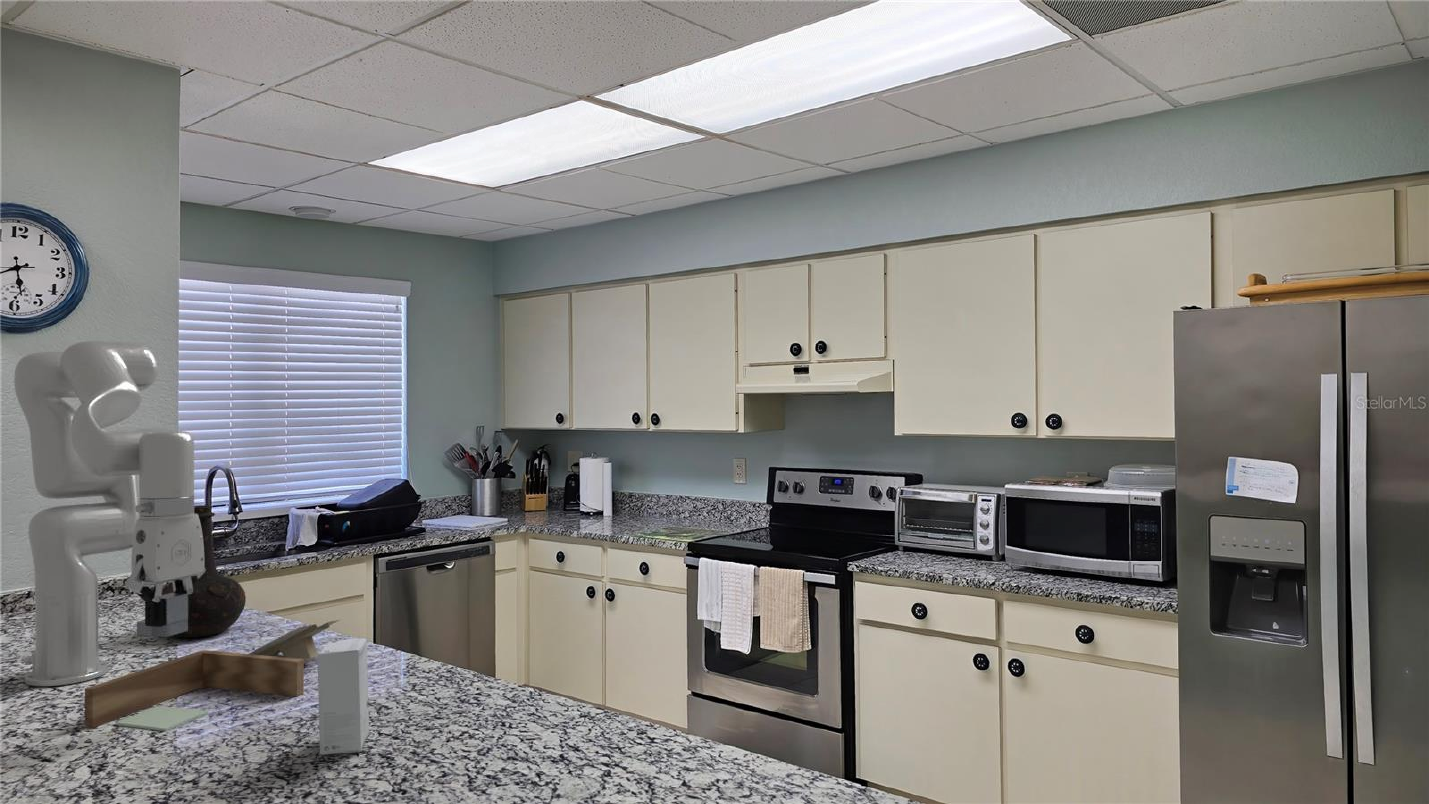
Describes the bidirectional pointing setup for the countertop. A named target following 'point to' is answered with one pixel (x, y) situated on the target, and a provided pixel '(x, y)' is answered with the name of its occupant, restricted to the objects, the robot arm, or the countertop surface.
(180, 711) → the pad
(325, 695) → the skincare box
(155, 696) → the wall
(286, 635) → the grey angled piece
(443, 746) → the countertop surface
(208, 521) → the glass bottle
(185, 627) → the metal block
